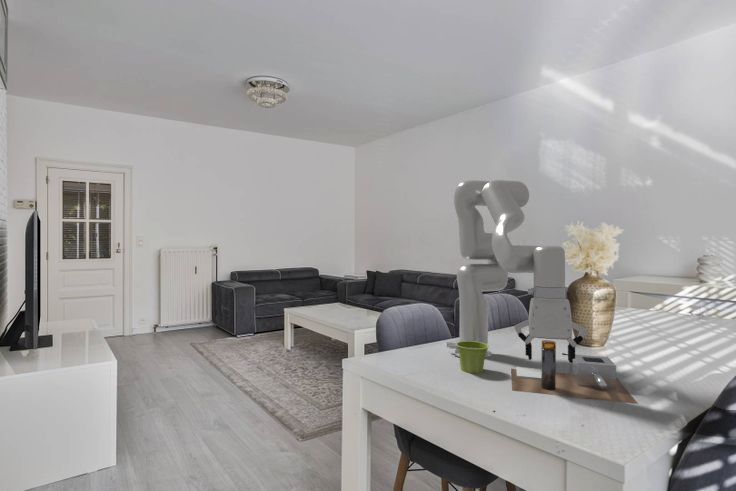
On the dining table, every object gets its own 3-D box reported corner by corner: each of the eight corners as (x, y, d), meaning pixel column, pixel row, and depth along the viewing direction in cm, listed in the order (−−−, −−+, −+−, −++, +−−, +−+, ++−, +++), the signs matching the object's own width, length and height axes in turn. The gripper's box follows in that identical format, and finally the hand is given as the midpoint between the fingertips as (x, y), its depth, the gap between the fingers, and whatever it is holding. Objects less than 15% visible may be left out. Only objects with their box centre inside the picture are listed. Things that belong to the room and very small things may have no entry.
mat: (517, 377, 118) (517, 375, 118) (516, 368, 126) (516, 366, 126) (552, 380, 115) (552, 378, 115) (548, 371, 124) (548, 369, 124)
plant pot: (489, 371, 128) (489, 342, 128) (487, 380, 119) (487, 349, 119) (457, 367, 131) (458, 340, 131) (453, 376, 122) (454, 346, 122)
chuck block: (582, 395, 104) (583, 371, 104) (572, 375, 120) (572, 354, 120) (624, 400, 101) (624, 375, 101) (607, 378, 117) (608, 357, 117)
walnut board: (512, 395, 107) (512, 390, 107) (510, 372, 126) (510, 368, 126) (638, 408, 99) (638, 403, 99) (616, 382, 118) (616, 378, 118)
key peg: (541, 389, 108) (542, 342, 108) (540, 385, 112) (541, 339, 112) (556, 390, 107) (556, 343, 107) (554, 386, 111) (555, 340, 111)
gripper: (514, 294, 108) (514, 361, 108) (589, 296, 103) (589, 366, 103) (513, 291, 116) (514, 354, 115) (583, 293, 110) (584, 359, 110)
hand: (549, 360), depth 109 cm, fingers open, 9 cm apart
